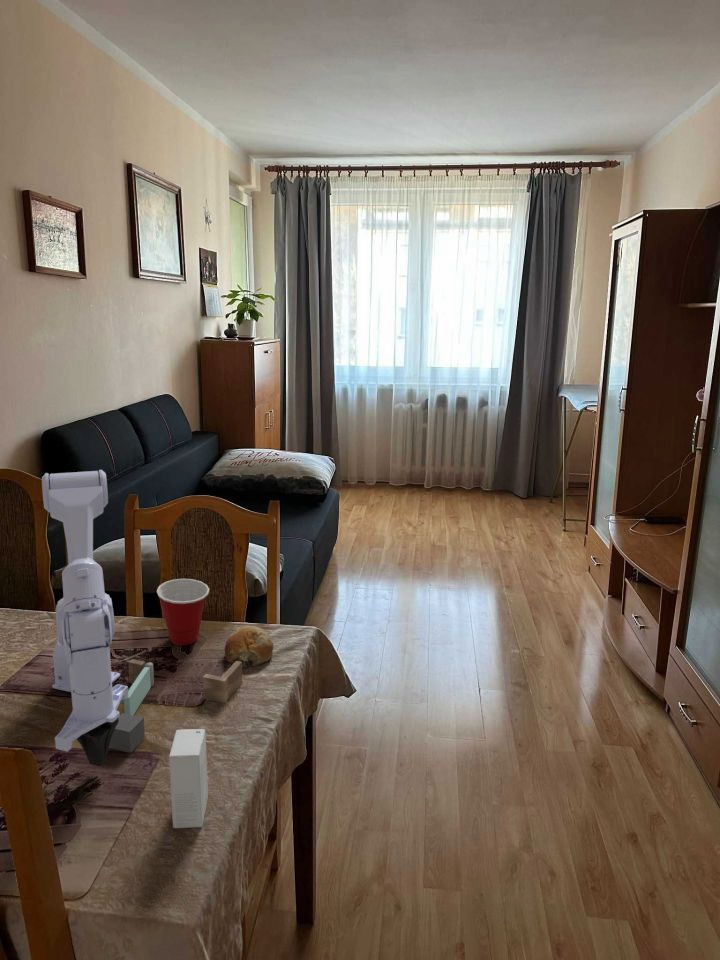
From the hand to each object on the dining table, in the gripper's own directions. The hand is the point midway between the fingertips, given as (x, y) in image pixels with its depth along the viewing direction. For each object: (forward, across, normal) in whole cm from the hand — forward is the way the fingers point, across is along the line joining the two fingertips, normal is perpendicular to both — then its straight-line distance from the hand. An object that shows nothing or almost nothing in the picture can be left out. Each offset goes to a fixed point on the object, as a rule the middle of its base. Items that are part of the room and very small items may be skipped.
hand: (97, 762), depth 104 cm
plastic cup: (+2, +42, +9) cm, 43 cm away
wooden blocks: (+2, +27, 0) cm, 27 cm away
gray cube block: (+2, +8, 0) cm, 8 cm away
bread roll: (+2, +40, -7) cm, 40 cm away
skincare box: (+2, -3, -18) cm, 18 cm away
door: (+2, +18, +5) cm, 19 cm away
